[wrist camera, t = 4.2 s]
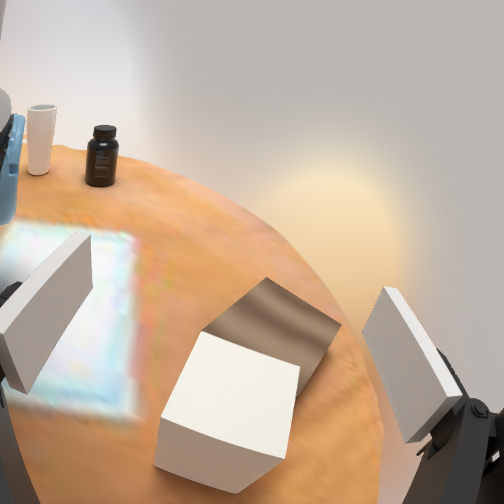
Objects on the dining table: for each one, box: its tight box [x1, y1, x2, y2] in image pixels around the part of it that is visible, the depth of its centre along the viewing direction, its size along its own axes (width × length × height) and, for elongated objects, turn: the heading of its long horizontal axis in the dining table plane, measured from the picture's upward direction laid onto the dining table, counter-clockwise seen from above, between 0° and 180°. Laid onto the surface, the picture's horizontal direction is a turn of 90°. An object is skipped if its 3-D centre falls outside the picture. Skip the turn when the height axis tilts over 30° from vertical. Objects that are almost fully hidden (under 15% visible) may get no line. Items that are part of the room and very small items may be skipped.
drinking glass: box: [27, 104, 57, 175], centre depth 54 cm, size 7×7×15 cm
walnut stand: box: [201, 277, 342, 400], centre depth 38 cm, size 14×12×5 cm
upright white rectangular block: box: [154, 331, 300, 494], centre depth 23 cm, size 8×8×12 cm
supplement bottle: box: [85, 125, 119, 187], centre depth 59 cm, size 7×7×12 cm
